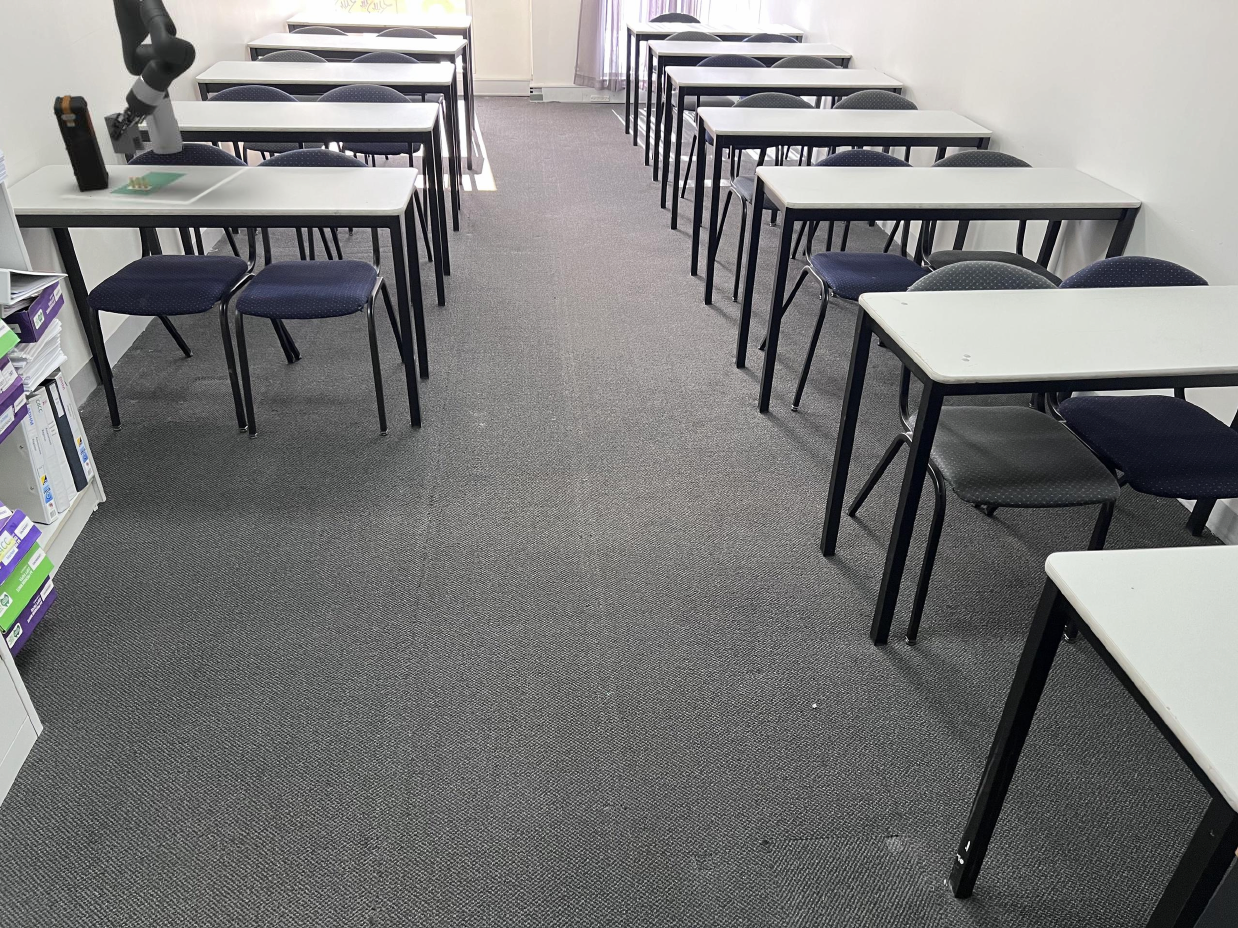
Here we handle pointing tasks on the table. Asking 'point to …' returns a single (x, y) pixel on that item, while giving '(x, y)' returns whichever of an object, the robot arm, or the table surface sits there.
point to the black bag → (81, 142)
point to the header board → (148, 183)
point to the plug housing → (125, 137)
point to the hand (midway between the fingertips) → (119, 136)
